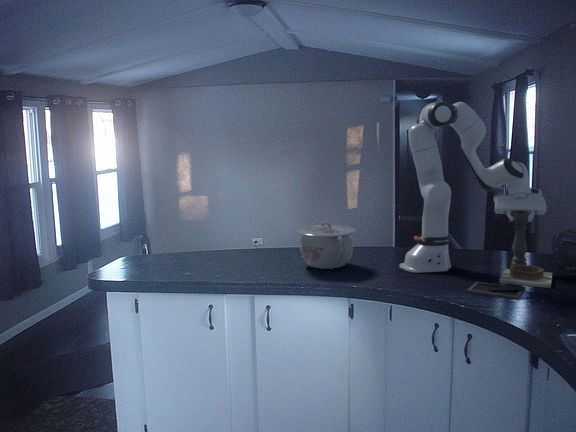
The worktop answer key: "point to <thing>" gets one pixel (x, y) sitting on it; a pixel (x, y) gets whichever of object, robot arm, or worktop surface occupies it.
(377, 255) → the worktop surface
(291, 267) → the worktop surface
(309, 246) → the chamber pot
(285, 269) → the worktop surface
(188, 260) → the worktop surface
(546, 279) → the collar board
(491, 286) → the picture frame
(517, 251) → the candle holder
